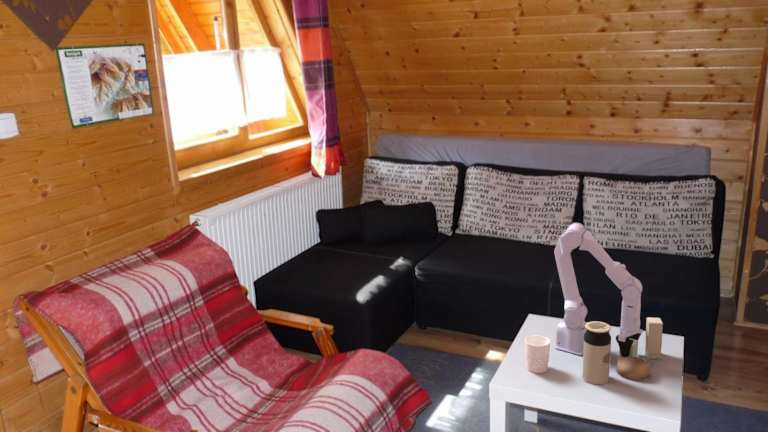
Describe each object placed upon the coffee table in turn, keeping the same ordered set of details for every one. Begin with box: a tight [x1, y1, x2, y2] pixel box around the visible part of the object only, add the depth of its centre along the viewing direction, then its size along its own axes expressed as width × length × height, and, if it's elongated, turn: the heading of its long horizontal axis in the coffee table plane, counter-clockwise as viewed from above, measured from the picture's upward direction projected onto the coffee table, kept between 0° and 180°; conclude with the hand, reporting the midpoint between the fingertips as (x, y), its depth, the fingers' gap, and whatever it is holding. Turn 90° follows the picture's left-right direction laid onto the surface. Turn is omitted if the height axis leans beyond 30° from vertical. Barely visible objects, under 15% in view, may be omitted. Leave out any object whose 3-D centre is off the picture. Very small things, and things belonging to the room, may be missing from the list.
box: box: [644, 316, 664, 360], centre depth 212 cm, size 5×4×13 cm
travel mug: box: [581, 320, 612, 385], centre depth 199 cm, size 8×8×18 cm
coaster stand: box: [616, 357, 652, 382], centre depth 203 cm, size 10×10×3 cm
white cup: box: [524, 334, 551, 374], centre depth 208 cm, size 8×8×10 cm
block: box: [618, 338, 639, 360], centre depth 213 cm, size 4×4×6 cm
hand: (628, 353), depth 213 cm, fingers open, 6 cm apart
